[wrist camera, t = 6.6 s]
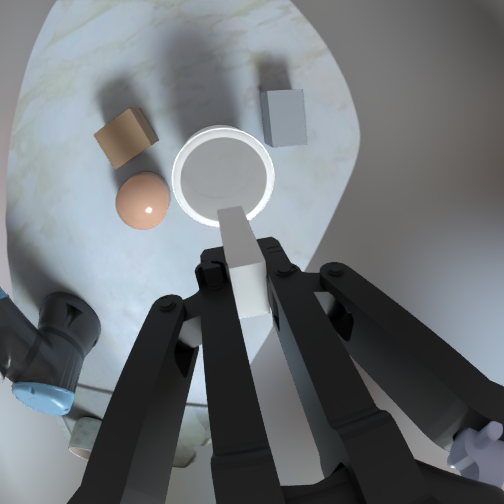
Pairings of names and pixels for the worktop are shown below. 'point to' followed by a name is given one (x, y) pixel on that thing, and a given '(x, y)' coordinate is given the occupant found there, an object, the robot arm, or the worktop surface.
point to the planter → (84, 436)
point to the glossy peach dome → (143, 200)
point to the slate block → (284, 117)
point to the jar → (222, 174)
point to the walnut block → (125, 137)
